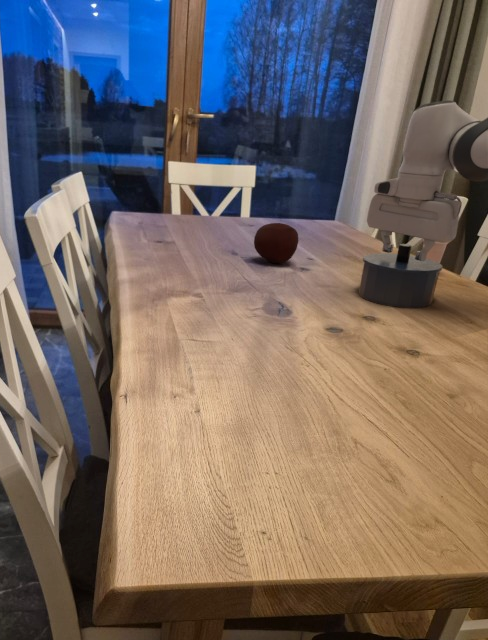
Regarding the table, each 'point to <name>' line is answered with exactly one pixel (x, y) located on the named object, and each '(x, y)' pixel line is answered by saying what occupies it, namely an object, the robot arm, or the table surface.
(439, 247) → the smoothie
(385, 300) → the pot
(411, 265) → the lid
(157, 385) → the table surface
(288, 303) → the table surface
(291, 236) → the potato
